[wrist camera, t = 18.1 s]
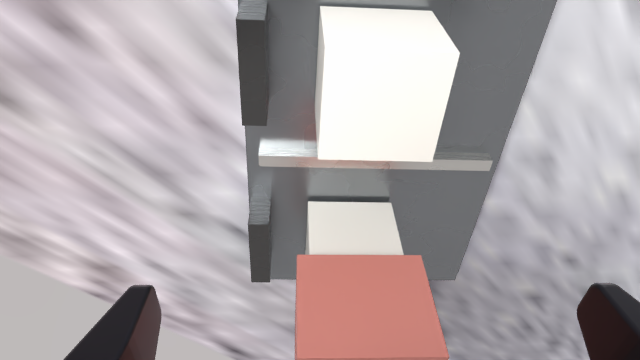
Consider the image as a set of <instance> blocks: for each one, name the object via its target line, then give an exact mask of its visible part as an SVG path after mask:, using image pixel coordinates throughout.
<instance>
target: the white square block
mask: <svg viewBox="0 0 640 360" xmlns="http://www.w3.org/2000/svg"><path fill="white" fill-rule="evenodd" d="M459 55H460V52H459V51H458V49H457V48H456V46H455V45H454V43H453V42H452V40H451V39H450V37H449V36H448V34H447V33H446V31H445V30H444V28H443V27H442V25H441V24H440V22H439V21H438V19H437V18H436V16H435V15H434V13H433V12H432V11H424V10H401V9H377V8H354V7H330V6H320V18H319V36H318V55H317V74H316V92H315V119H316V136H317V153H318V159H319V160H366V161H413V162H432V161H433V157H434V153H435V149H436V145H437V141H438V137H439V133H440V129H441V125H442V121H443V118H444V114H445V110H446V106H447V102H448V98H449V94H450V90H451V86H452V82H453V78H454V74H455V70H456V67H457V63H458V59H459Z"/></svg>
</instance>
